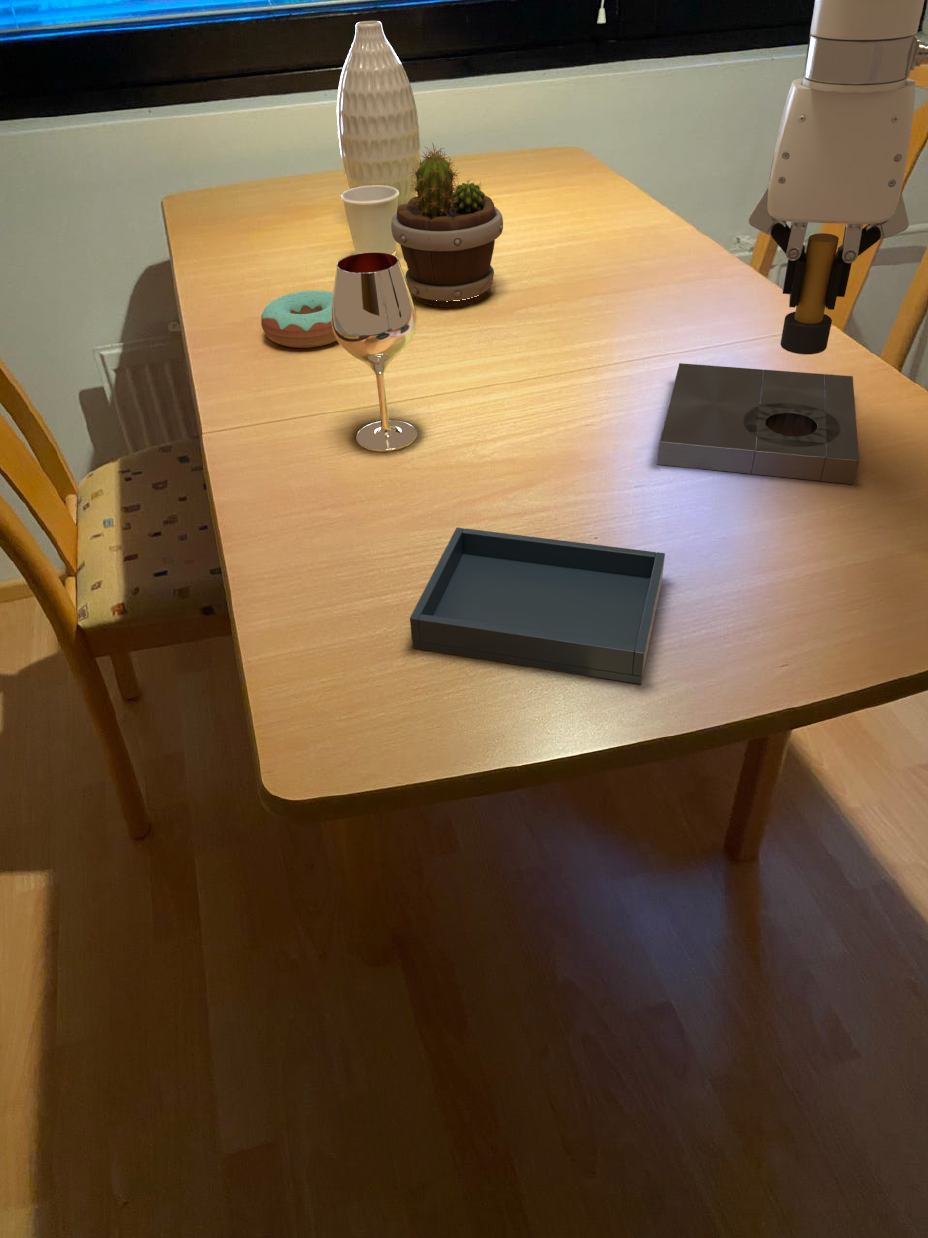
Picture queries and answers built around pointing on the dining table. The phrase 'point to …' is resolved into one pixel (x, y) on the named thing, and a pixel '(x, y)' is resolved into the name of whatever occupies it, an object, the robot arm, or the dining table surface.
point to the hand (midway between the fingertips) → (811, 301)
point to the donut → (300, 319)
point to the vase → (377, 115)
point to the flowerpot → (446, 236)
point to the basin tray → (541, 604)
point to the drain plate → (761, 423)
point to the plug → (812, 299)
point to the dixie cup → (371, 217)
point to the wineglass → (375, 331)
